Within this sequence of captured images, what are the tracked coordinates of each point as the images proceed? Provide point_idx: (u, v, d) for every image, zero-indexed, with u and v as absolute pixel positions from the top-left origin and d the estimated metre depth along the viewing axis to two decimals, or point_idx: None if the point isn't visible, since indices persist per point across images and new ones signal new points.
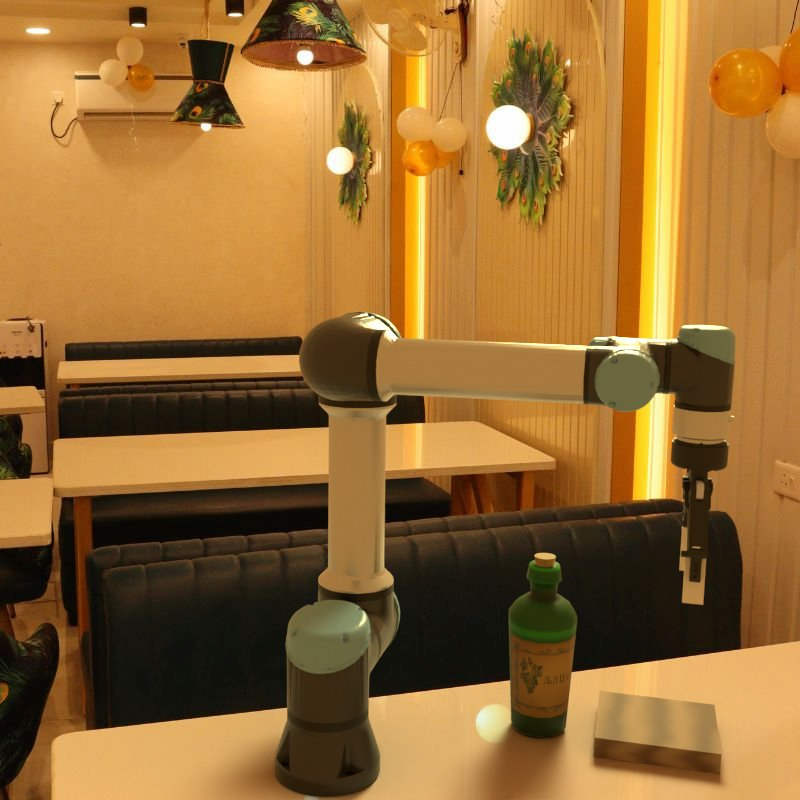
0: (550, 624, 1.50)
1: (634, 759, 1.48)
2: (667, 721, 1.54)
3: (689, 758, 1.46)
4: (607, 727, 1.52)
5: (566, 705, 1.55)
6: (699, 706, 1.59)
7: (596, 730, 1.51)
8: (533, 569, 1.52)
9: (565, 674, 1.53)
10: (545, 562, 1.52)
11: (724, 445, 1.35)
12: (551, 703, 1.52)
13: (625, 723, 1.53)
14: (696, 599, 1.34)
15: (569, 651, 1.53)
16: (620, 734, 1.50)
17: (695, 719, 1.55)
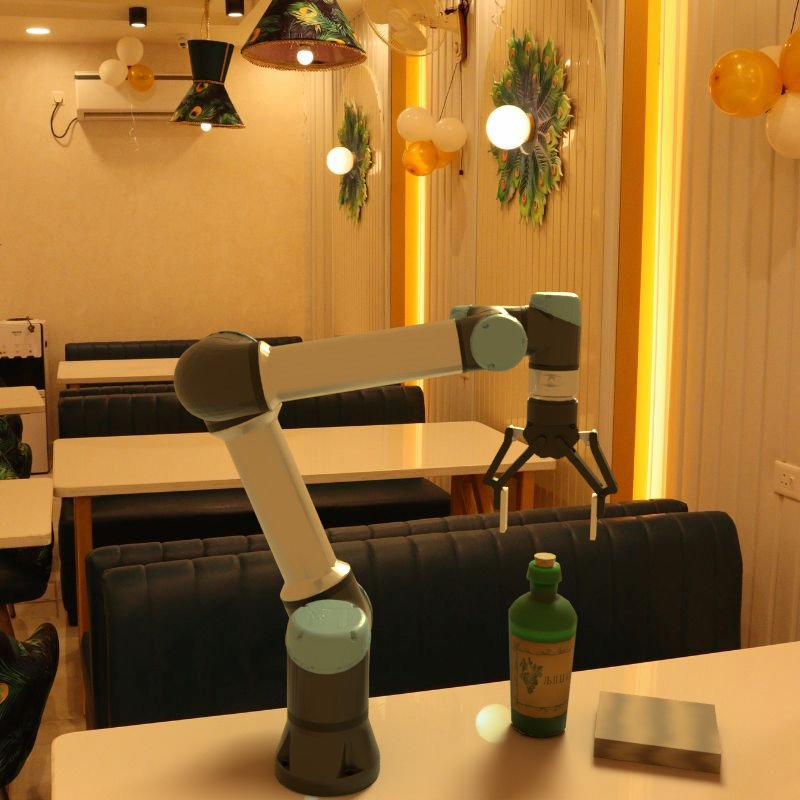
0: (550, 624, 1.50)
1: (634, 759, 1.48)
2: (667, 721, 1.54)
3: (689, 758, 1.46)
4: (607, 727, 1.52)
5: (566, 705, 1.55)
6: (699, 706, 1.59)
7: (596, 730, 1.51)
8: (533, 569, 1.52)
9: (565, 674, 1.53)
10: (545, 562, 1.52)
11: (538, 402, 1.47)
12: (551, 703, 1.52)
13: (625, 723, 1.53)
14: None
15: (569, 651, 1.53)
16: (620, 734, 1.50)
17: (695, 719, 1.55)
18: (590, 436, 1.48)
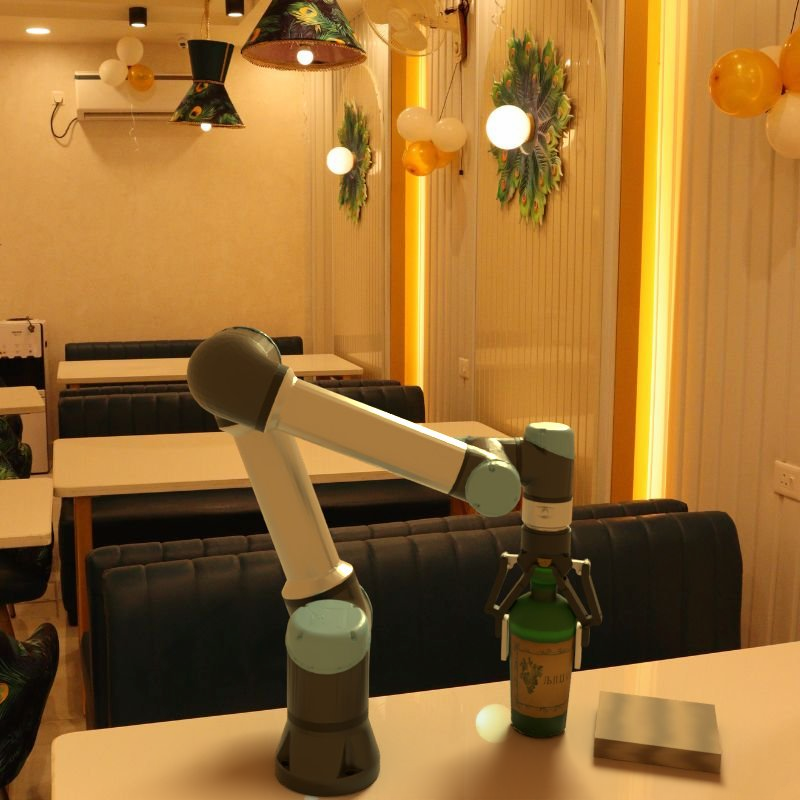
0: (550, 624, 1.50)
1: (634, 759, 1.48)
2: (667, 721, 1.54)
3: (689, 758, 1.46)
4: (607, 727, 1.52)
5: (566, 705, 1.55)
6: (699, 706, 1.59)
7: (596, 730, 1.51)
8: None
9: (565, 674, 1.53)
10: (545, 562, 1.52)
11: (532, 531, 1.50)
12: (551, 702, 1.52)
13: (625, 723, 1.53)
14: None
15: (569, 651, 1.53)
16: (620, 734, 1.50)
17: (695, 719, 1.55)
18: (583, 567, 1.51)
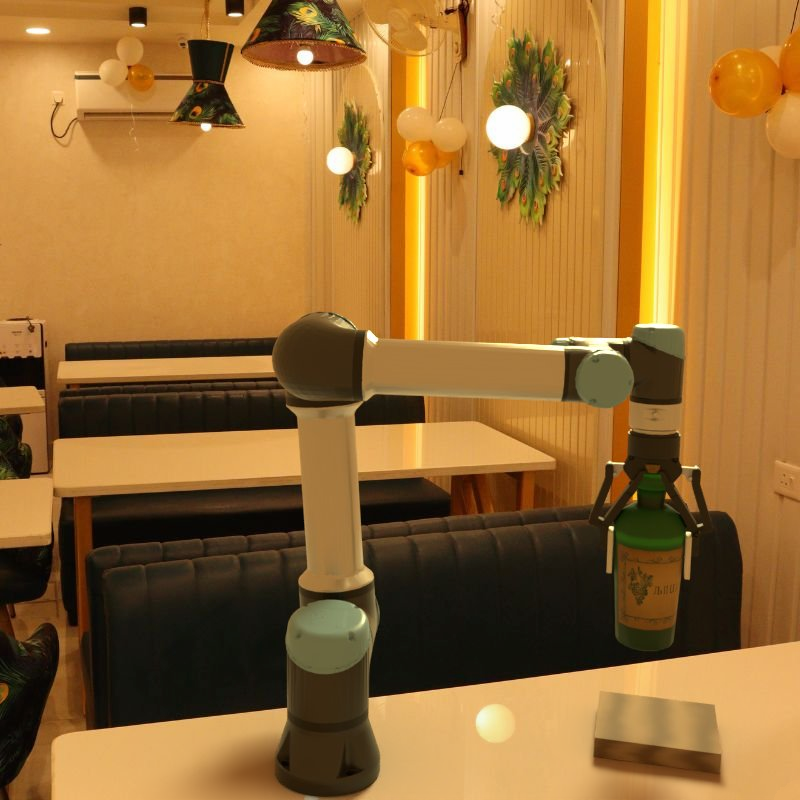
0: (661, 531, 1.45)
1: (634, 759, 1.48)
2: (667, 721, 1.54)
3: (689, 758, 1.46)
4: (607, 727, 1.52)
5: (675, 618, 1.50)
6: (699, 706, 1.59)
7: (596, 730, 1.51)
8: None
9: (675, 585, 1.47)
10: (654, 468, 1.47)
11: (641, 436, 1.45)
12: (661, 614, 1.47)
13: (625, 723, 1.53)
14: None
15: (679, 561, 1.47)
16: (620, 734, 1.50)
17: (695, 719, 1.55)
18: (694, 473, 1.46)
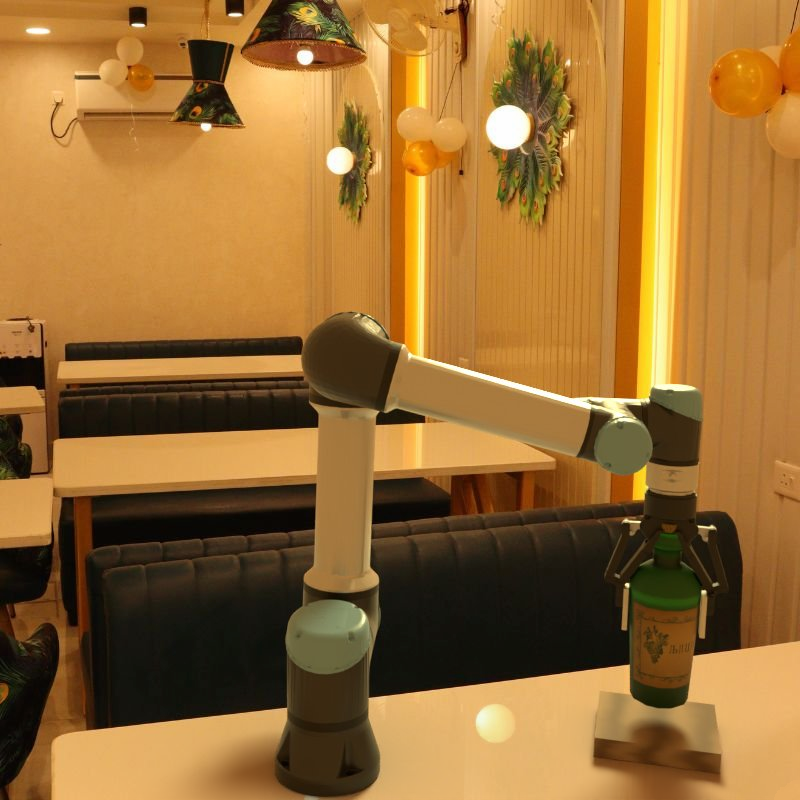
0: (678, 591, 1.46)
1: (634, 759, 1.48)
2: (667, 721, 1.54)
3: (689, 758, 1.46)
4: (607, 727, 1.52)
5: (689, 676, 1.51)
6: (699, 706, 1.59)
7: (596, 730, 1.51)
8: None
9: (690, 643, 1.48)
10: (671, 528, 1.48)
11: (658, 496, 1.46)
12: (676, 672, 1.48)
13: (625, 723, 1.53)
14: None
15: (695, 620, 1.48)
16: (620, 734, 1.50)
17: (695, 719, 1.55)
18: (710, 533, 1.47)
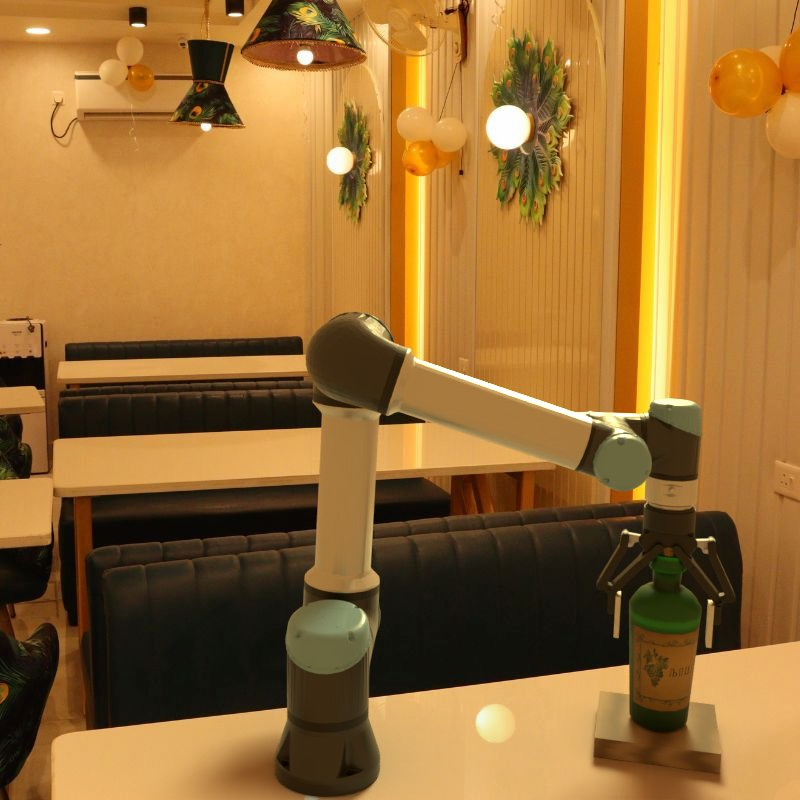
0: (678, 614, 1.46)
1: (634, 759, 1.48)
2: None
3: (689, 758, 1.46)
4: (607, 727, 1.52)
5: (689, 698, 1.52)
6: (699, 706, 1.59)
7: (596, 730, 1.51)
8: (658, 558, 1.49)
9: (690, 666, 1.49)
10: (670, 551, 1.48)
11: (657, 510, 1.46)
12: (675, 695, 1.49)
13: (625, 723, 1.53)
14: None
15: (694, 643, 1.49)
16: (620, 734, 1.50)
17: (695, 719, 1.55)
18: (709, 545, 1.47)
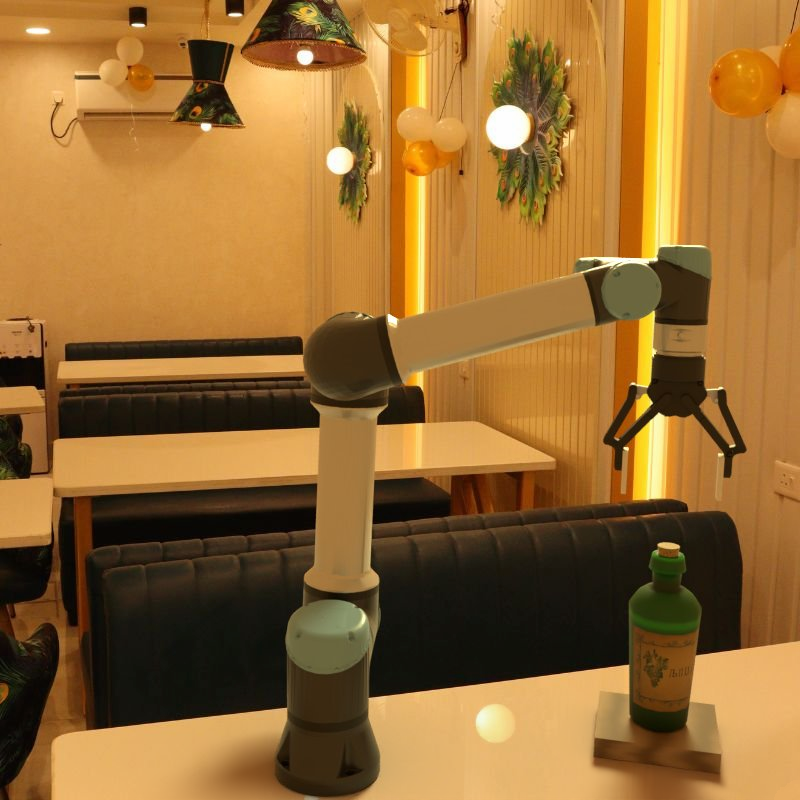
0: (677, 615, 1.46)
1: (634, 759, 1.48)
2: None
3: (689, 758, 1.46)
4: (607, 727, 1.52)
5: (689, 698, 1.52)
6: (699, 706, 1.59)
7: (596, 730, 1.51)
8: (658, 559, 1.48)
9: (689, 667, 1.49)
10: (670, 552, 1.48)
11: (666, 357, 1.42)
12: (675, 696, 1.49)
13: (625, 723, 1.53)
14: None
15: (694, 643, 1.49)
16: (620, 734, 1.50)
17: (695, 719, 1.55)
18: (719, 393, 1.43)
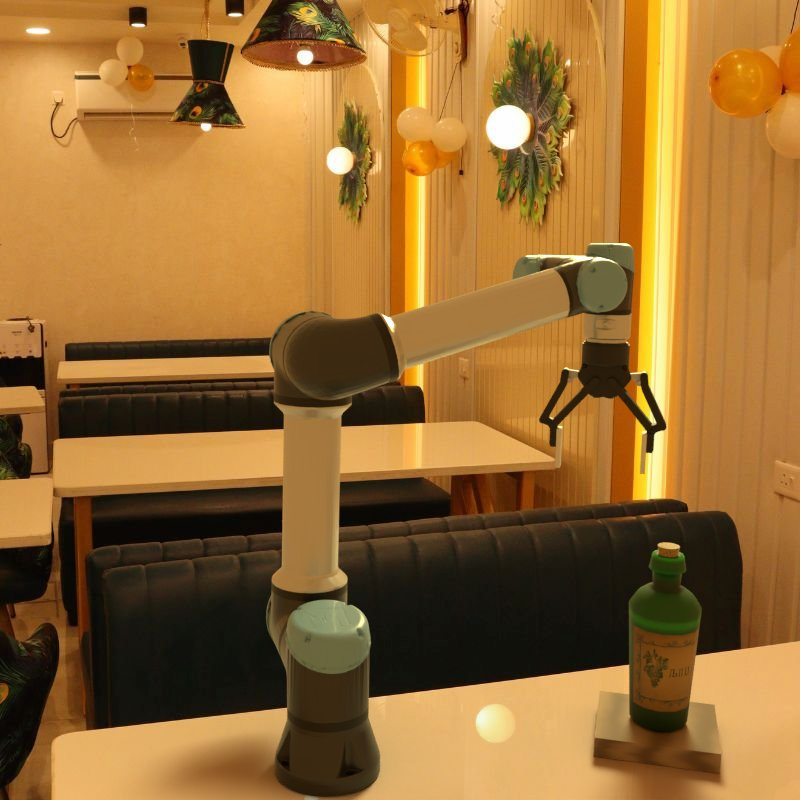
0: (677, 615, 1.46)
1: (634, 759, 1.48)
2: None
3: (689, 758, 1.46)
4: (607, 727, 1.52)
5: (689, 698, 1.52)
6: (699, 706, 1.59)
7: (596, 730, 1.51)
8: (658, 559, 1.48)
9: (689, 667, 1.49)
10: (670, 552, 1.48)
11: (593, 344, 1.58)
12: (675, 696, 1.49)
13: (625, 723, 1.53)
14: None
15: (694, 643, 1.49)
16: (620, 734, 1.50)
17: (695, 719, 1.55)
18: (641, 377, 1.59)
